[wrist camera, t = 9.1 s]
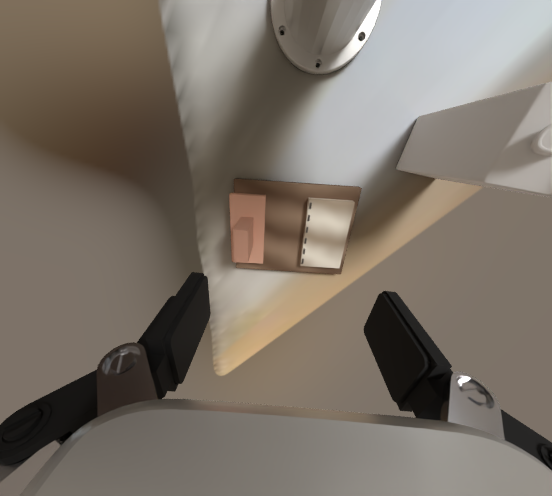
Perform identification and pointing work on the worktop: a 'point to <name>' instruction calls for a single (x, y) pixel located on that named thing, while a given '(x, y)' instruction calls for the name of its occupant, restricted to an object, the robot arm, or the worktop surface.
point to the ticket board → (303, 224)
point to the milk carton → (488, 143)
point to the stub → (247, 227)
